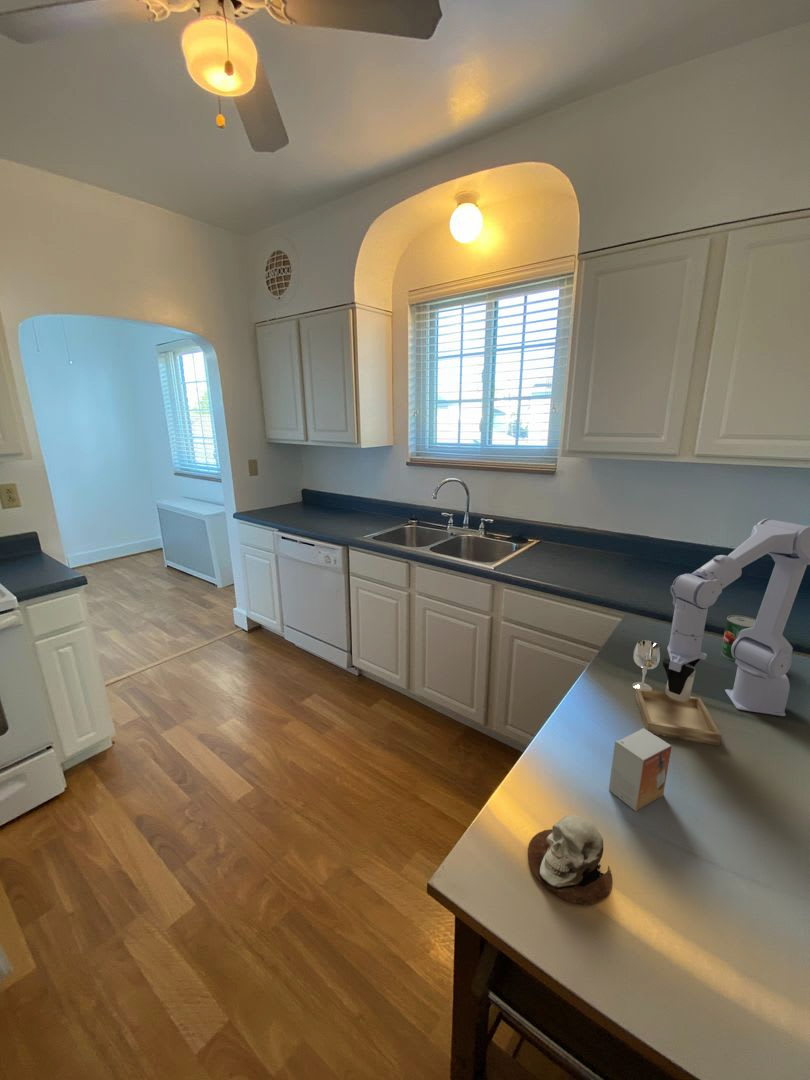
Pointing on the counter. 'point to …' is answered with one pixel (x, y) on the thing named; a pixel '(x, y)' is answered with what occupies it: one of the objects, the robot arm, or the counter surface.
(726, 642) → the canned tomato
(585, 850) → the skull
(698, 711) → the tray
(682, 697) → the shaker
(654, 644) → the wineglass
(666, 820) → the counter surface
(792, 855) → the counter surface
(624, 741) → the small box
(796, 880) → the counter surface
